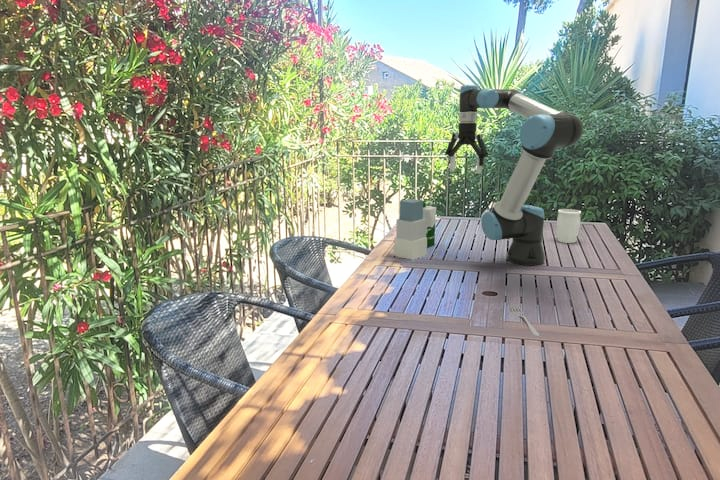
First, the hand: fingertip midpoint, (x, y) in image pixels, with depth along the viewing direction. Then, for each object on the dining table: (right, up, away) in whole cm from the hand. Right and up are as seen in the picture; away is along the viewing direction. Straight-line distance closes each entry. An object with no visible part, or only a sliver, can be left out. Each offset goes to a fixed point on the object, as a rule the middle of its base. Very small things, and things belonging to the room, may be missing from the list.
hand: (465, 172), depth 225 cm
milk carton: (-16, -32, +14) cm, 39 cm away
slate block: (-24, -21, -6) cm, 33 cm away
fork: (+3, -55, -73) cm, 92 cm away
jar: (+53, -31, +21) cm, 65 cm away
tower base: (-24, -36, -2) cm, 44 cm away
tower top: (-24, -29, -4) cm, 38 cm away
